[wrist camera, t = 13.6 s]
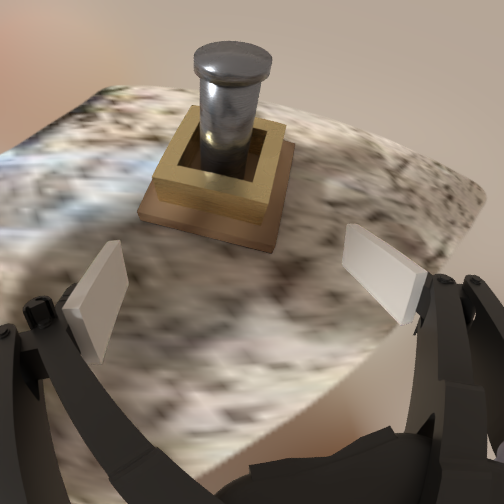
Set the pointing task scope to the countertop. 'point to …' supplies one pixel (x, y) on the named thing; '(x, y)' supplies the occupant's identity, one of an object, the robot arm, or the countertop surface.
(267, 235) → the socket base
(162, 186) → the square socket frame
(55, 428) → the countertop surface
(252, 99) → the pin
